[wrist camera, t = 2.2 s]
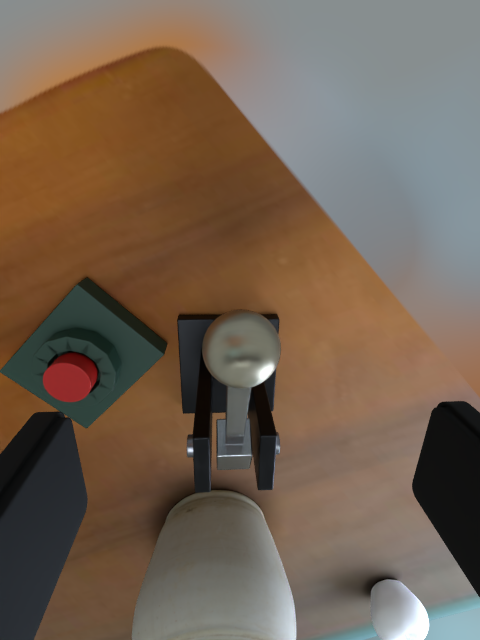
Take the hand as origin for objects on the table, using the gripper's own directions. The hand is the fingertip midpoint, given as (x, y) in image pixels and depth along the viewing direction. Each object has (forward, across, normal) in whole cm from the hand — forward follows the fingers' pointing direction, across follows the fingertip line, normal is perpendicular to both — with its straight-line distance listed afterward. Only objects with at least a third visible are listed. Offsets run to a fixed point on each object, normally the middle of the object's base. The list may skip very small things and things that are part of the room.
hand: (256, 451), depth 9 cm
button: (+18, +13, +8) cm, 23 cm away
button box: (+22, +13, +8) cm, 26 cm away
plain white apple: (+22, -23, +46) cm, 56 cm away
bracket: (+22, 0, +9) cm, 23 cm away
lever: (+9, 0, +4) cm, 10 cm away
